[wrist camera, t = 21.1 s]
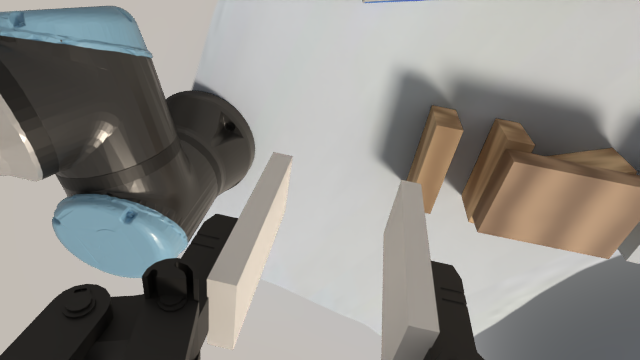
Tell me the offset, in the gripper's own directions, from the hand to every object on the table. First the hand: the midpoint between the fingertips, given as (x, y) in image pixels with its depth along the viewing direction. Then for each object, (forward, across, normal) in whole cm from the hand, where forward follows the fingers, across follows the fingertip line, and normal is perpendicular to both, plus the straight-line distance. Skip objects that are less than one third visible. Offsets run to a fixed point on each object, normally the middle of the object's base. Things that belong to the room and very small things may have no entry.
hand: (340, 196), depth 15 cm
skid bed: (+35, +15, -14) cm, 40 cm away
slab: (+29, +26, -14) cm, 41 cm away
